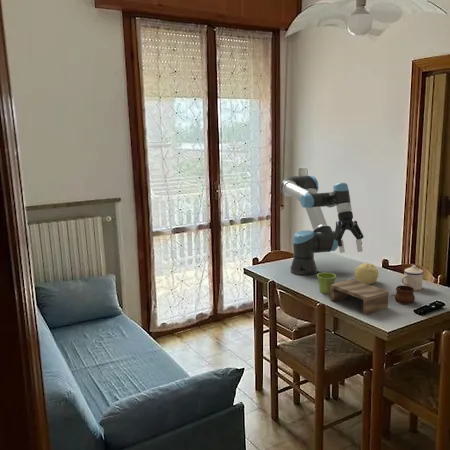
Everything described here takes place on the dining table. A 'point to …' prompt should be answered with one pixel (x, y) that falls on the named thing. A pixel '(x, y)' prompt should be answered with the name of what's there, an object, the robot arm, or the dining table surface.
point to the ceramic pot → (404, 294)
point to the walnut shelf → (361, 295)
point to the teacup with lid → (413, 277)
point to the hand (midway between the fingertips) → (351, 252)
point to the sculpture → (366, 273)
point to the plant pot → (326, 282)
